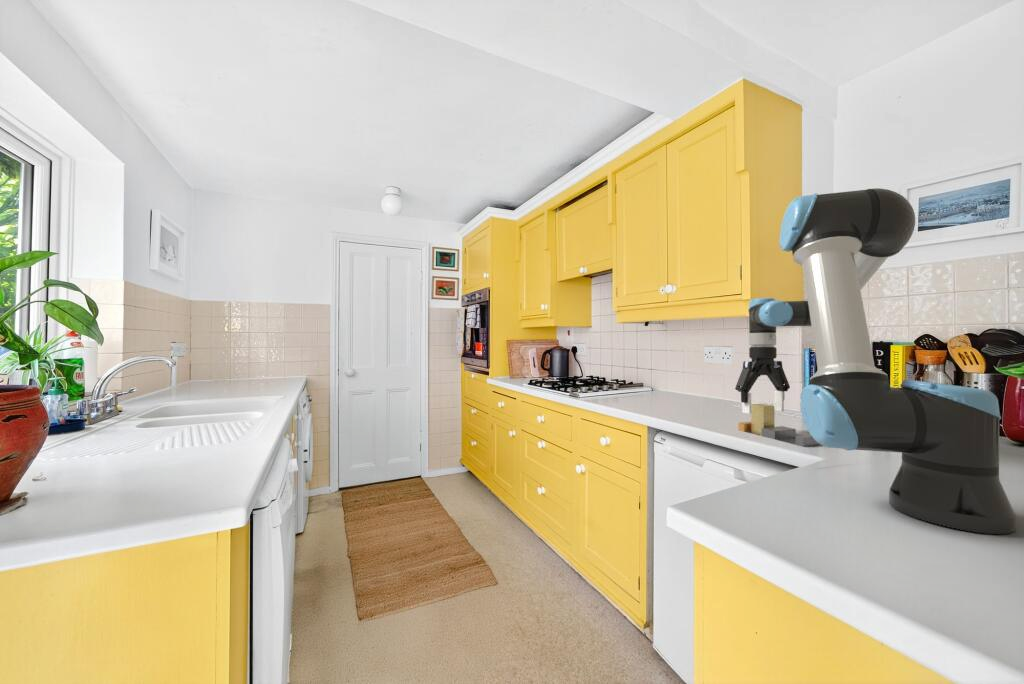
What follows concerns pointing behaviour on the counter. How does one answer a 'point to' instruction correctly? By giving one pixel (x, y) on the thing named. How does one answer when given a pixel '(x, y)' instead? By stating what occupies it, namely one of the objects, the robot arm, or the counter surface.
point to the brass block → (761, 417)
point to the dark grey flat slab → (781, 434)
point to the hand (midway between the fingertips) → (763, 412)
